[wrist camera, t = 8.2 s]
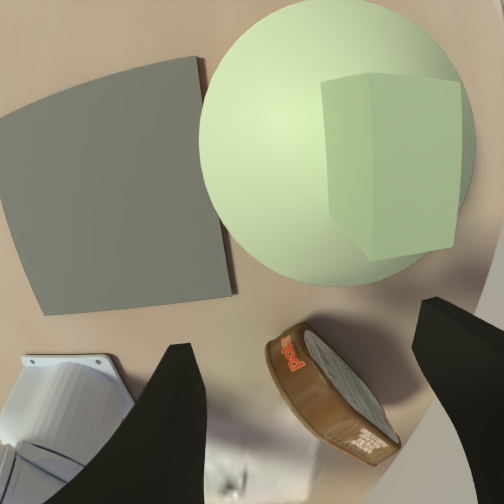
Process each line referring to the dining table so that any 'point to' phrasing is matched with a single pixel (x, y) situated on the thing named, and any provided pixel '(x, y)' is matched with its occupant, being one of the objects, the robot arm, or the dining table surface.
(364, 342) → the dining table surface
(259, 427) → the dining table surface
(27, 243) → the mat
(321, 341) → the tin
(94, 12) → the dining table surface
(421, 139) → the lid
